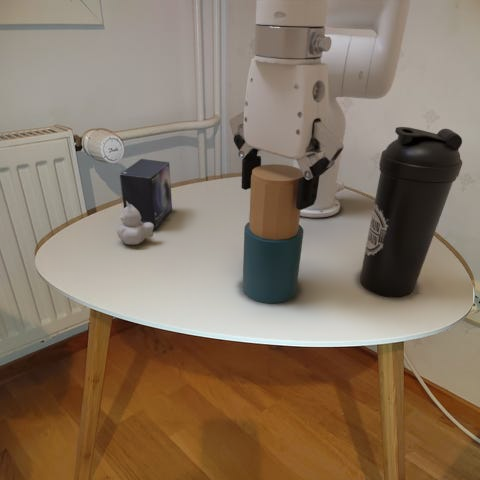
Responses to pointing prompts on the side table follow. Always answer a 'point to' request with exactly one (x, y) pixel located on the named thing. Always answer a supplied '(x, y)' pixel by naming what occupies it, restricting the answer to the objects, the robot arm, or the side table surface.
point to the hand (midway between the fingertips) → (276, 196)
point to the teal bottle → (271, 267)
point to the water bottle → (408, 208)
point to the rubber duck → (133, 226)
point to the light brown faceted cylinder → (274, 201)
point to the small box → (148, 190)
